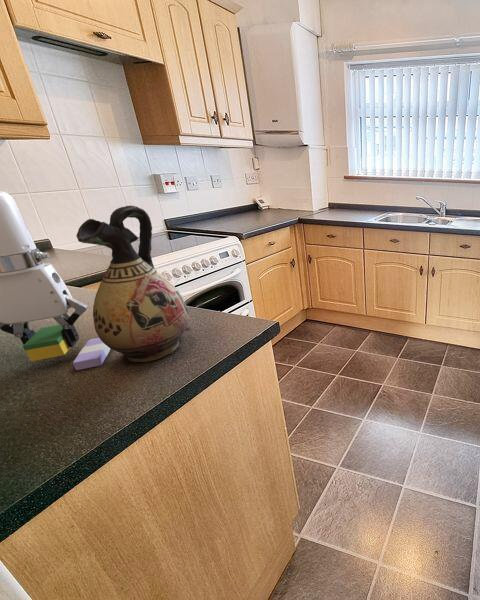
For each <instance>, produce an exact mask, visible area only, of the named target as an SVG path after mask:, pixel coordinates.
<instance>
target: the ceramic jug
mask: <svg viewBox="0 0 480 600" xmlns="http://www.w3.org/2000/svg"><path fill="white" fill-rule="evenodd" d="M128 218H132V219H136V220H138V223H139V237H138V236H137V235H136V234H135V233H134V232H133V231H132V230H131V229H129V228H128V227H125V224H124V222H125V220H126V219H128ZM152 237H153V224H152V220H151V217H150V216H149V214H148V213H147V212H146V211H145V210H144V209H143V208H141V207H139V206H136V205H125V206H121V207H118V208H116V209H115V210H113V211H112V212H111V214H110V217H109V223H107V222H105V221H99V220H96V219H95V218H88V219H86V220H84V222H82V223H81V225H80V226H79V227H78V230H77V233H76V239H77V242H79V243H82V244H89V245H97V246H103V247H106V248H108V249H110V250H111V257H112V258H111V260H110V262H109V265H108V267H107V269H106V271H105V273H104V274H103V276H102V279H101V281H100V283H99V286H98V289H97V291H96V293H95V296H94V301H93V306H92V318H93V327H94V330H95V333H96V334H97V337H98V338H100V340H101V341H102V342H103V343H104V344H105V345H106V346H108V347H109V348H111V349H110V350H113V351H115V352H117V353H119V354H122V355H124V356H125V357H126V358H127V360H128V362H130V363H136V362H137V363H147V362H152V361H155V360H159V359H162V358H163V357H166V356H168V355H170V354H171V353H173V352H175V350H177V348H178V347H179V344H180V342H179V341H180V338H181V337H182V335H183V334H184V332H185V331H186V330H187V327H188V324H189V320H190V319H189V310H188V306H187V303H186V301H185V300H184V298H183V296H182V294H181V292H180V291H179V290H178V289H177V288H176V286H175V285H174V284H173V283H172V282H171V281H170V280H168V278H167V277H165V276H164V275H163V274H162V273H161V272H159V271H158V270H157V269H156V268H155V265H154V263H153V259H152V258H153V257H152V255H151V254H152V250H153V249H152V239H153V238H152ZM136 241H139V244H138V252H137V251H136V250H135V248H134V247H133V245H132V243H135V242H136Z"/></svg>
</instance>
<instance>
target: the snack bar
mask: <svg viewBox="0 0 480 600" xmlns="http://www.w3.org/2000/svg"><path fill="white" fill-rule="evenodd" d="M111 350H112V349H111V348H109V347H108V346H106V345H105V344H104V343H103V342H102V341H101V340H100V338H99V337H95V338H91V339H88V340H87V342H86V343H85V344H84V346H83V347H82V348H81V350H80V351H79V353H78V354H77V356H76V357H75V359H74V360H73V362H72V365H73V367H74V369H75V371H81V370H85V369H90V368H94V367H99V366H103V364H104V362H105V360H106V358H107V357H108V355H109V353H110V352H111Z"/></svg>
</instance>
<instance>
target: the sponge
mask: <svg viewBox="0 0 480 600" xmlns="http://www.w3.org/2000/svg"><path fill="white" fill-rule="evenodd" d="M62 329H63V328H62V326H61V325H60V324H57V325H51V326H45V327H41V328H40V329H38V330H37V332H35V333H36V334H35V335H34V336H33V337H32V338H30V339H29V340H28V341H27V342H26V343H25V344H24V345H22V347H23V350H24V351H25V353H26V355H27V357H28V358H29V360H30V362H36V361H42V360H45V359H52V358H57V357H61V356H65V355H66V354H67V353H68V352H69V350H70V349H71V347H68V345H67V343H66V341H65V339H64V337H63V335H62V333H61V330H62Z"/></svg>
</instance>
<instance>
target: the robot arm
mask: <svg viewBox="0 0 480 600" xmlns="http://www.w3.org/2000/svg"><path fill="white" fill-rule="evenodd" d="M21 213H22V212H21V211H20V209H19V207H18V205H17V203H16V201H15V199H14V198H13V196H12V195H11V194H9V193H8V192H7V191H3V190H0V330H1V331H2V332H5V333H7V334H11V335H13V336H14V338H17V339H20V341H21V343H22V344H23V345H24V344H25V343H26V342H27V341H28V340H29V339H30V338H32V337H33V336H34V335H35V334H36V333H37V332H36V331H35V330H33V329H30V322H35V321H41V320H47V319H53V320H54V321H55V322H56V323H57V324H58V325H61V326H62V328H63V329H62V330H61V333H62V335H63V337H64V339H65V341H66V343H67V345H68V347H70V348H73V347H75V345H76V344H77V343H78V342H79V340H80V335H79V333H78V331H77V329H76V327H75V323H76V321H77V320H78V319H79V318H80V317H81V316H82V315H83V314H84V313H85V312H86V311H87V310H88V308H89V305H87V304H86V303H83V302H82V301H80V300H78V299H76V298H74V297H73V296H72V295H73V294H71V292H70V290H69V288H68V286H67V285H66V283H65V281H64V280H63V278H62V277H61V275H60V274H59V273H58V272H57V270H56V268H55V267H54V266H53V264H51V263H49V262H47V263H45V261H47V260H51V258H52V257H51V253H49V252H48V251H45V252H44V251H41V250H40V249H39V248H37V246H36V243H35V241H34V239H33V237H32V235H31V233H30V231H29V229H28V226H27V224H26V222H25V220H24V217H23V215H22V214H21ZM70 309H74V311H73V312H72V314H70V313H69V310H70ZM23 345H22V346H23Z"/></svg>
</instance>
